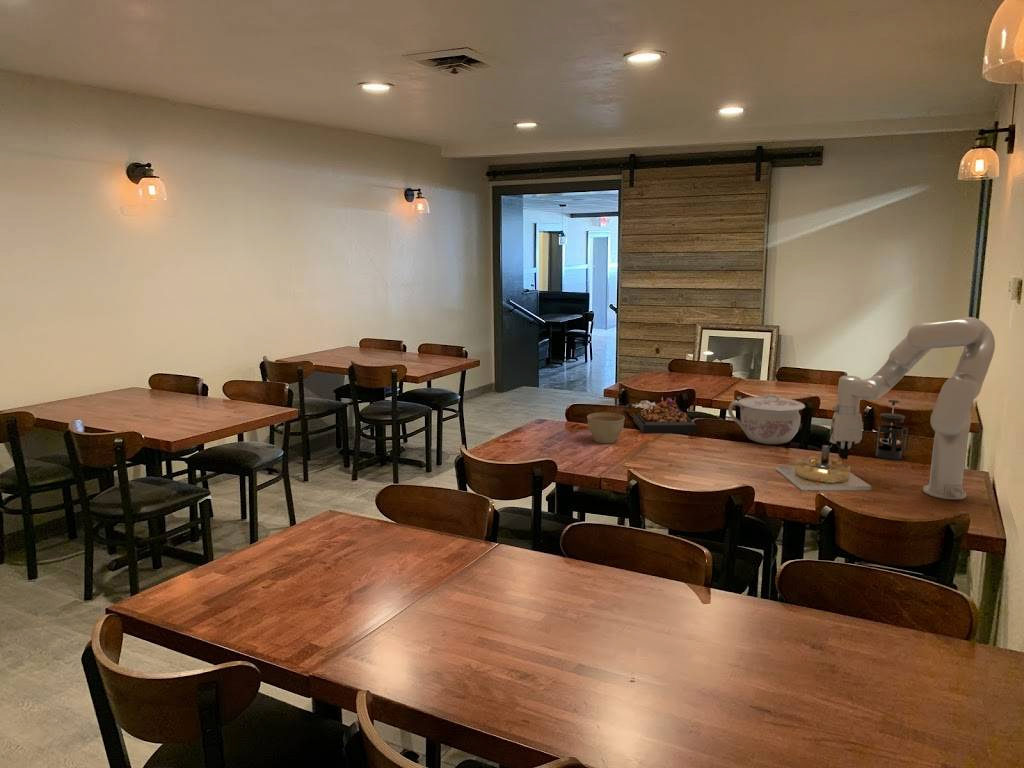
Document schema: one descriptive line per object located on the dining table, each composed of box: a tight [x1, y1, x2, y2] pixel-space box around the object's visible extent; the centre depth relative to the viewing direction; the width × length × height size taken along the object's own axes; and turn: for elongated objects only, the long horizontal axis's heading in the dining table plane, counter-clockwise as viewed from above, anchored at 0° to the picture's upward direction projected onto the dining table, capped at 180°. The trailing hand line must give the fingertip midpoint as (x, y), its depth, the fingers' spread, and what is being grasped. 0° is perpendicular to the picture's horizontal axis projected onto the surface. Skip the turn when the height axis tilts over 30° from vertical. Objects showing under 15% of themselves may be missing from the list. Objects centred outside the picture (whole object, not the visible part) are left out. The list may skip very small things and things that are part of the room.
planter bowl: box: [586, 412, 626, 444], centre depth 311 cm, size 16×16×11 cm
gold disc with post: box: [794, 444, 851, 483], centre depth 259 cm, size 18×18×9 cm
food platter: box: [625, 396, 699, 435], centre depth 347 cm, size 45×25×10 cm, turn 1°
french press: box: [875, 399, 910, 461], centre depth 286 cm, size 12×9×23 cm
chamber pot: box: [727, 393, 806, 446], centre depth 311 cm, size 28×28×21 cm
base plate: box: [775, 465, 872, 492], centre depth 260 cm, size 24×24×2 cm
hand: (843, 458), depth 265 cm, fingers closed
